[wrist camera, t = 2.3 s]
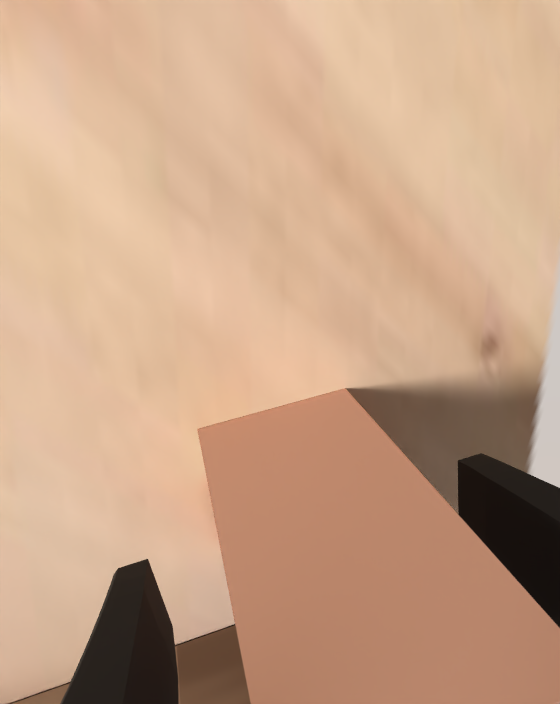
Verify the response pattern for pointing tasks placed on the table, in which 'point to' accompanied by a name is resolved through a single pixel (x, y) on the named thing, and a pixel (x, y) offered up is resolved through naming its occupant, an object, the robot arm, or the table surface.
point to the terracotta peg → (363, 571)
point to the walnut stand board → (195, 672)
